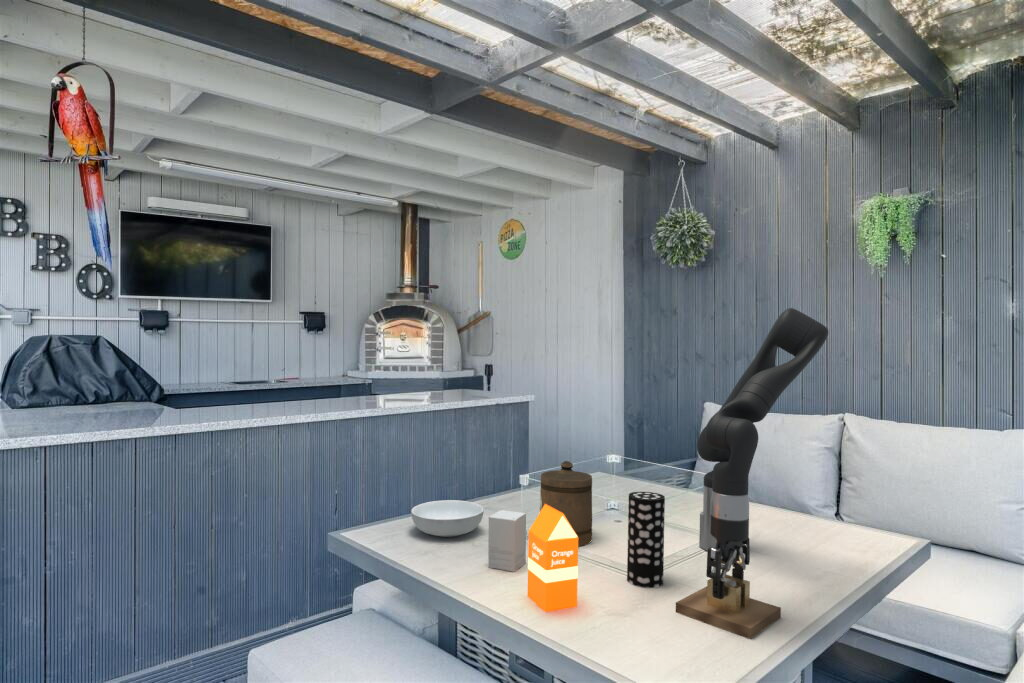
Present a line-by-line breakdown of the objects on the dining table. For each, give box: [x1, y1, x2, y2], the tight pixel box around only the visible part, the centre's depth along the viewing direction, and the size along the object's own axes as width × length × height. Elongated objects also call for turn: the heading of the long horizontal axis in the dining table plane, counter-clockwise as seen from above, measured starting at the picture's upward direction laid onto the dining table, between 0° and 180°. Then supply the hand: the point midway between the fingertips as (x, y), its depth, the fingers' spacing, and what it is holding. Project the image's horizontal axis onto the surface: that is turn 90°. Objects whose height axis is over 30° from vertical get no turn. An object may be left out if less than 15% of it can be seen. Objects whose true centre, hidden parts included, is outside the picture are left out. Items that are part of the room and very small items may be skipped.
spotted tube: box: [626, 491, 666, 589], centre depth 147 cm, size 8×8×20 cm
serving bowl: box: [410, 499, 485, 538], centre depth 182 cm, size 21×21×7 cm
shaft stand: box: [675, 578, 782, 640], centre depth 130 cm, size 16×14×7 cm
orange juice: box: [527, 504, 579, 613], centre depth 135 cm, size 8×9×20 cm
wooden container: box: [539, 460, 593, 548], centre depth 178 cm, size 15×15×22 cm
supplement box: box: [487, 509, 527, 573], centre depth 156 cm, size 7×7×13 cm
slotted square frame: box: [706, 574, 751, 614], centre depth 130 cm, size 6×6×5 cm
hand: (728, 592), depth 130 cm, fingers open, 8 cm apart
